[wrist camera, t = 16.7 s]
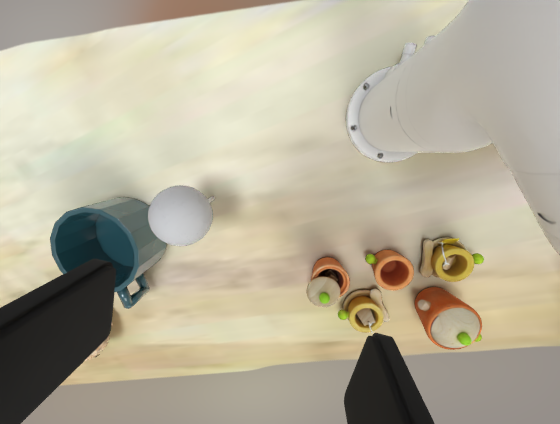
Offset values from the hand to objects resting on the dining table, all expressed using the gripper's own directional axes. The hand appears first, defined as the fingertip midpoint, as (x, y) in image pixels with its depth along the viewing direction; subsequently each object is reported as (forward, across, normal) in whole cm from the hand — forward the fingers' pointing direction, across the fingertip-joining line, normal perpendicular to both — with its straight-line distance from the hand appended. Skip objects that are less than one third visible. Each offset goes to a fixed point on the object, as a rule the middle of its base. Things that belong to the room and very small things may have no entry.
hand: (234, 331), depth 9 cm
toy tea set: (+32, -20, +11) cm, 40 cm away
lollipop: (+32, +11, +4) cm, 34 cm away
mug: (+32, +23, +16) cm, 43 cm away
